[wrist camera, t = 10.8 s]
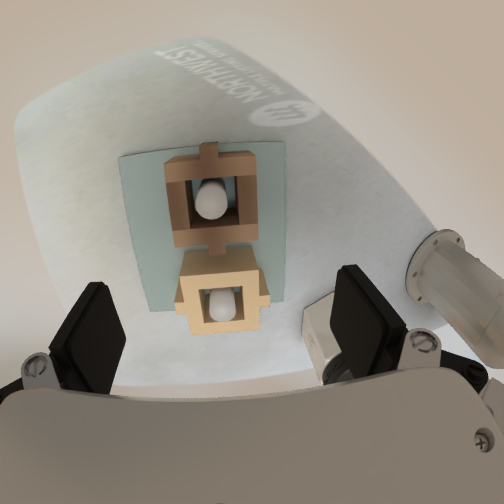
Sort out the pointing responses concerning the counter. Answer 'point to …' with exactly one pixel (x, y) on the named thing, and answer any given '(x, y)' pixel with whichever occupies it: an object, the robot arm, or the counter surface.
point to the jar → (324, 343)
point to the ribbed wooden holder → (234, 219)
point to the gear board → (197, 257)
